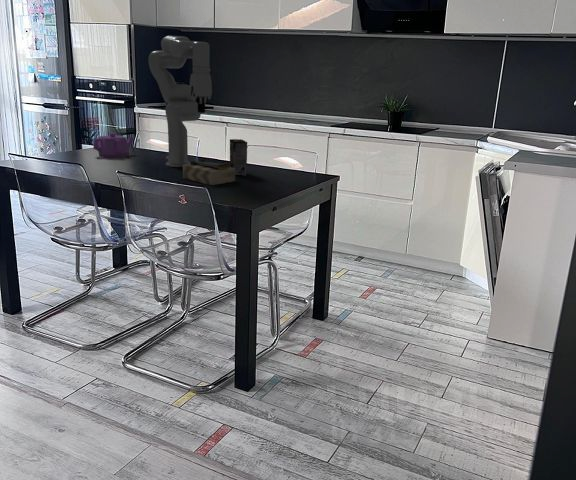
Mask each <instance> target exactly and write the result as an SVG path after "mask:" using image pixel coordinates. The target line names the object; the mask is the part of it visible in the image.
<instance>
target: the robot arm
mask: <svg viewBox="0 0 576 480" xmlns="http://www.w3.org/2000/svg"><path fill="white" fill-rule="evenodd" d="M160 46H161V49H162V50H154V51H151V52H150V54H149V56H148V65H149V70H150V73H151V74H152V76H153V77H154V79H155V80H156V82H157V84H158V87H159V90H160V93H161V95H162V98H163V100H164V102H165V103H166V106H165V107H164V108H165V111H164V112H165V116H166V122H167V123H166V124H167V135H168V136H167V143H168V155H167V156H166V157H165V160H167V161H166V162H165V166H167V167H173V168H183V165H187V164H190V161H189V158H188V157H189V156H188V155H189V152H188V150H189V149H188V148H189V146H188V129H187V126H186V125H185V124H184V122H195V121H198V120H200V118H201V114H204V113H205V112H206V104H207V102H208V100H211V99H212V95H213V85H212V83H213V82H212V76H211V74H210V72H211V70H212V69H211V68H210V43H208V42H206V41H195V40H190V39H189V38H188V37H187V36H183V35H166V36H164V37H163V38H162V39H161V41H160ZM187 59H192V73H191V74H190V77H189V84H182V83H181V84H180V83H179V84H178V83H177V82H176V80H175V78H174V76H173V74H171V72H169V71H168V70H167V69H181V68H182V67H184V65H185V63H186V62H187Z"/></svg>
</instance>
